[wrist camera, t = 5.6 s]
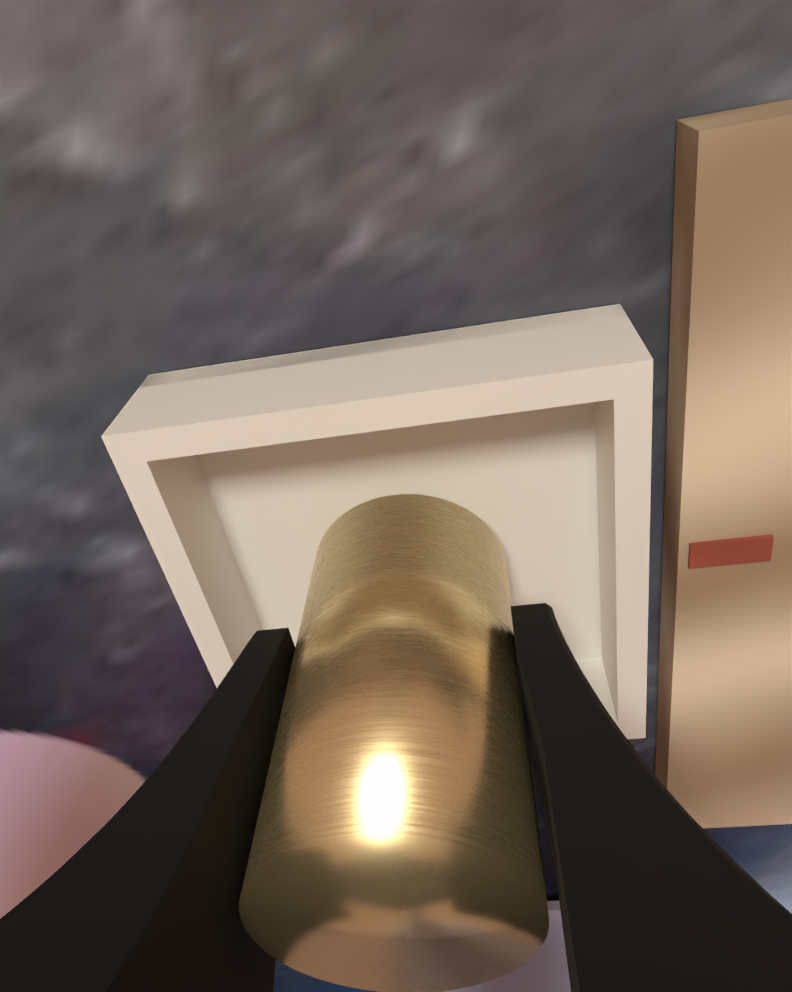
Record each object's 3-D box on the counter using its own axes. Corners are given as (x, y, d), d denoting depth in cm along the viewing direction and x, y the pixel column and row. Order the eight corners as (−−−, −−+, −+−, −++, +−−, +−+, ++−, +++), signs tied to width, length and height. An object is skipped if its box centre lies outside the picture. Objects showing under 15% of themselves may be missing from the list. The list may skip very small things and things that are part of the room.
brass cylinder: (517, 630, 16) (561, 987, 10) (341, 651, 17) (289, 998, 11) (492, 480, 14) (532, 824, 8) (291, 509, 14) (193, 849, 9)
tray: (622, 655, 18) (645, 738, 16) (271, 685, 20) (252, 765, 18) (620, 304, 13) (653, 359, 11) (148, 374, 15) (101, 436, 13)
